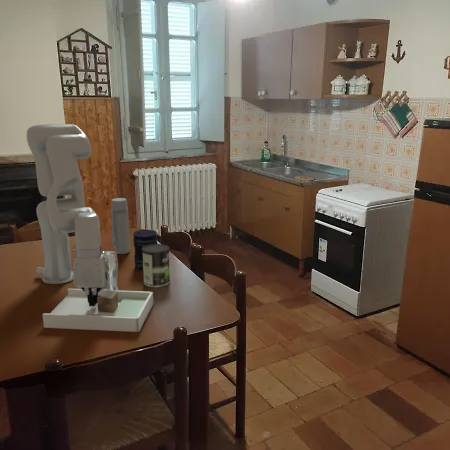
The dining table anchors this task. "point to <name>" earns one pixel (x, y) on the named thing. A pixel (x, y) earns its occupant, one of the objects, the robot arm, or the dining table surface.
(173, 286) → the dining table surface
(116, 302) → the walnut block
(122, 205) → the water bottle
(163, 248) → the coffee can
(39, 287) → the dining table surface
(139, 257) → the storage jar
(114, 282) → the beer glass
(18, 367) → the dining table surface
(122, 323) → the box
